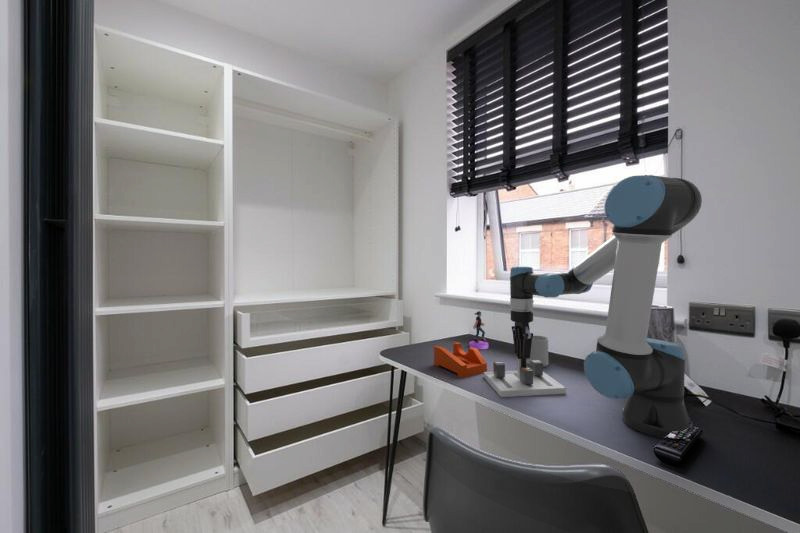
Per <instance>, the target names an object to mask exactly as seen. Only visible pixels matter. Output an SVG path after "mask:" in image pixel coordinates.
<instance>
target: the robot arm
mask: <svg viewBox="0 0 800 533" xmlns="http://www.w3.org/2000/svg"><path fill="white" fill-rule="evenodd" d="M702 198H703V197H702V194H701V191H700V190H699V188H698V187H697V186H696V185H695V184H694V183H692V182H691V181H689V180H687V179H684V178H679V177H669V176H660V175H659V176H657V175H654V174H651V175H650V174H649V175H648V174H644V175H643V174H642V175H632V176H628V177H625V178H624V179H622V180H619V181H618V183H616V185H613V187H612V188H611V189H610V190H609V191H608V194H607V195H606V198H605V201H604V204H603V205H604V207H603V208H604V210H603V211H604V215H605V217H606V218H607V221H608V222H609V223H611V224H612V228H611V234H612V235H613V236H612V237H610V238H609V239H608V240H607V241H605V242H604V243H603V244H601V245H600V246H599V247H597V248H596V249H595V250H594V251H592V252H591V253H590V254H588V255H587V256H586V257H584V258H583V259H582V260H581V261H579V262H578V263H577V264H576V265H575V266H573V267H572V268H571V269H569V270H567V271H559V272H534V269H533V268H534V267H532V266H529V265H527V266H525V265H520V266H518V265H517V266H516V265H515V266H512V267H510V273H509V275H510V276H509V283H510V284H509V285H510V286H509V288H510V289H509V291H510V293H509V294H510V298H509V299H510V301H509V304H510V306H509V307H510V309H511V310H510V321H511V322H514V325H511V331H512V338H513V350H514V354H516V357H517V370H518V376H519V377H520V367H528V366H527V365H528V364H527V359H528V358H530V353H531V344H532V338H533V336H534V333H532V332H531V330H530V328H531V327H530V323H532V322H534V311H533V309H534V302H535V300H534V296H537V297H542V298H543V297H544V298H557V297H559V296H563V295H581V294H584V293H588V292H589V291H590V290H591V289H592V287H593V284H594V283H595V282H596V281H598V280H599V279H601V278H602V277H605V275H607V274H608V273H610V272H611V271H613V274H612V280H611V281H612V282H611V287H610V288H611V290H610V295H609V296H610V297H609V303H608V309H607V310H608V311H607V316H606V317H607V320H606V326H605V333H603V334H602V335H600V336H598V337H597V342H596V347H595V348H596V349H595V350H594V351H591V352H590V353H589V354H587V355H586V356H585V359H584V361H583V371H584V374H585V376H586V379H587V381H588V382H589V383H590V386H591V387H592V388H593V389H594V390H595V391H596V392H597V393H599V394H600V395H601V396H603V397H604V398H607V399H612V400H619V399H623V400H624V399H626V400H625V404H624V406H623V408H622V409H621V418H622V421H623V423H625V425H627V426H628V427H630V428H631V429H632V430H633V429H634V430H635V431H638V432H640V433H643V434H644V435H648V436H651V437H655V438H659V439H664V438H663V437H665V436H666V435H668V434H669V433H670V432H672V431H678V430H685V429H687V428H689V427H692V426H693V423H692V421H691V418H690V415H689V413H688V409H687V407H686V404H685V372H686V371H685V365H686V364H685V363H686V357H685V349H684V347H683V346H681V345H680V344H677V343H674V342H671V341H665V340H661V339H656V338H650V337H649V338H648V334H649V333H648V332H649V327H650V320H651V313H652V307H653V302H654V295H655V290H656V288H655V287H656V282H657V275H658V270H659V264H660V256H661V251H662V246H663V245H662V244H664V243H665V241H668V240H669V239H670V238H671V237H672V235H674V234H675V233H677V232H678V231H680V230H681V229H682V228H684V227H686V226H687V225H688V224H689V223H691V222H692V221H693V220H694V219H695V218H696V217H697V215H698V214H699V213H700V210H701V208H702V203H703V199H702Z"/></svg>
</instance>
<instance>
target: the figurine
mask: <svg viewBox="0 0 800 533" xmlns="http://www.w3.org/2000/svg"><path fill="white" fill-rule="evenodd" d="M474 315H475V316H476V317H475V323H474V325H473V326H472V327H473V330H475V329H476V334H475V336H474V339H473V340H472V341H469V344H468V345H469V347H468V348H472V347H473V348H476V349H478V350H487V349H488V348H489V342H487V340H486V339H485V335H486V332H485V330H484V329H483V328H482V327H484V326H485V322H482V318H481V317H482V312H481V310H479V311H478V310H477V312H475V313H474ZM480 332H481V337H480V340H478V337H479V335H480Z"/></svg>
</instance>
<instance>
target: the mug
mask: <svg viewBox="0 0 800 533" xmlns="http://www.w3.org/2000/svg"><path fill="white" fill-rule="evenodd" d="M530 360H539V361H541V362H542V363H543V368H544V367H548V366H549V338H548V337H547V336H542V335H533V338H532V344H531V353H530V358H528V359H527V365H529V366H530Z"/></svg>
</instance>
